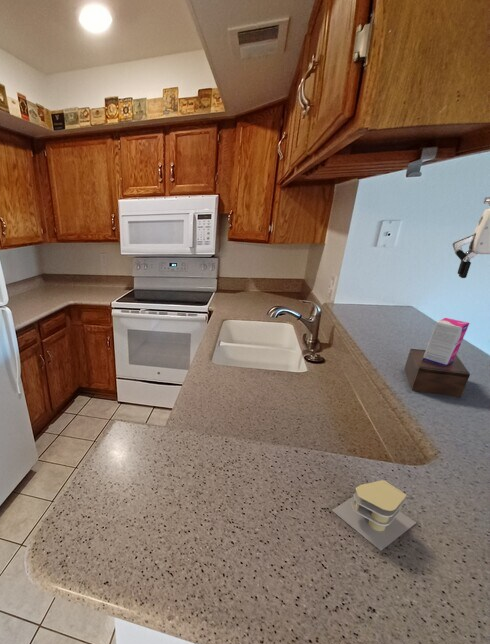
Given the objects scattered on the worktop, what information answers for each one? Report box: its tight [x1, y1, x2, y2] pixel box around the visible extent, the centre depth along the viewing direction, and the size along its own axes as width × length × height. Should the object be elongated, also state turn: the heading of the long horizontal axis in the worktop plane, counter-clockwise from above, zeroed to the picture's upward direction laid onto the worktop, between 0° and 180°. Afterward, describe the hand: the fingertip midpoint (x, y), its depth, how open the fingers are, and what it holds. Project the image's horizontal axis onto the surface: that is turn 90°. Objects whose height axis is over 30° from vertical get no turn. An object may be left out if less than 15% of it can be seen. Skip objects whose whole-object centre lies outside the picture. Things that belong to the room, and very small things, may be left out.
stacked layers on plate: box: [331, 479, 417, 551], centre depth 56 cm, size 10×9×6 cm
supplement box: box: [423, 317, 470, 366], centre depth 90 cm, size 6×6×12 cm
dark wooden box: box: [403, 348, 471, 398], centre depth 95 cm, size 11×14×7 cm
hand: (486, 277), depth 82 cm, fingers open, 9 cm apart
